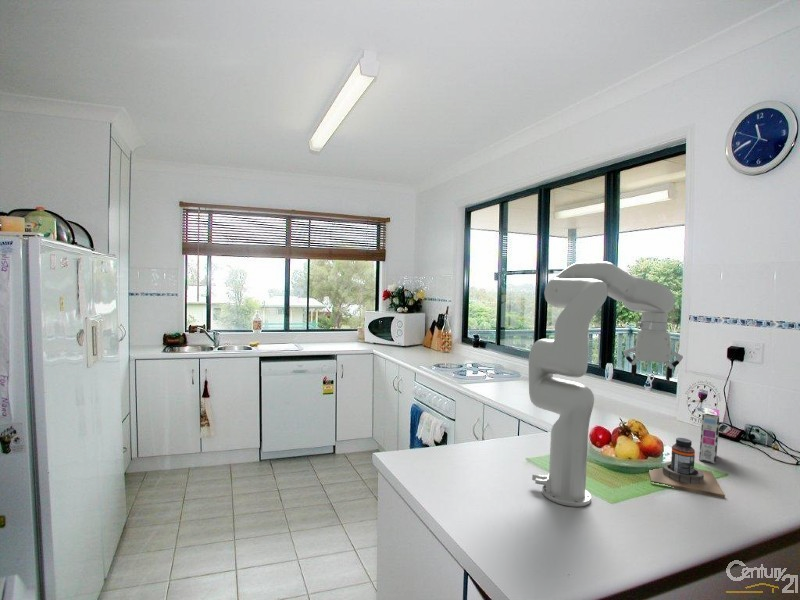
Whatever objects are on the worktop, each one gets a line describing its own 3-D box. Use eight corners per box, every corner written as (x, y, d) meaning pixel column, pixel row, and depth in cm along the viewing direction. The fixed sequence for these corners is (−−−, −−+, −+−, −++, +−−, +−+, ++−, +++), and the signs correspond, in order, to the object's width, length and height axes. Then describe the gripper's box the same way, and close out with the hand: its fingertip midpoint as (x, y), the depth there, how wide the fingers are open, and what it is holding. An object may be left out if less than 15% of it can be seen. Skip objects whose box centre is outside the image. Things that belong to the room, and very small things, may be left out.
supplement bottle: (672, 470, 140) (674, 434, 140) (694, 475, 136) (696, 439, 136) (668, 476, 136) (671, 439, 135) (692, 482, 132) (694, 444, 131)
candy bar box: (716, 464, 149) (719, 416, 148) (698, 460, 152) (701, 413, 151) (716, 454, 158) (719, 409, 157) (699, 451, 161) (702, 406, 160)
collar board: (651, 484, 132) (651, 474, 132) (646, 462, 148) (646, 454, 148) (724, 498, 124) (725, 487, 124) (711, 474, 140) (711, 465, 140)
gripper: (624, 326, 148) (622, 377, 148) (686, 329, 140) (683, 383, 141) (624, 324, 154) (621, 373, 155) (682, 328, 147) (679, 379, 148)
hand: (650, 378), depth 148 cm, fingers open, 9 cm apart
